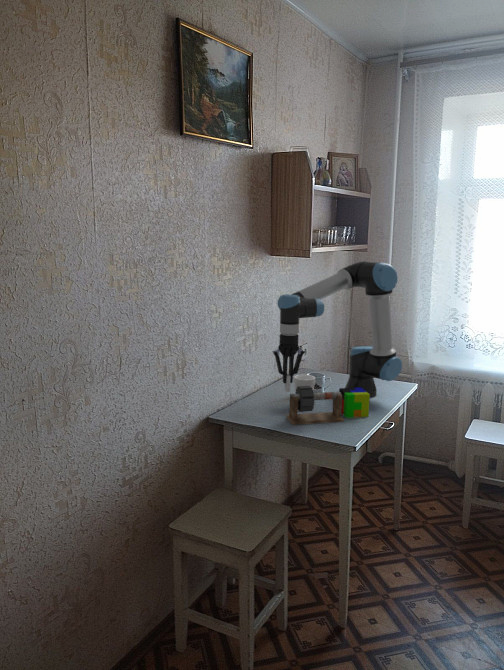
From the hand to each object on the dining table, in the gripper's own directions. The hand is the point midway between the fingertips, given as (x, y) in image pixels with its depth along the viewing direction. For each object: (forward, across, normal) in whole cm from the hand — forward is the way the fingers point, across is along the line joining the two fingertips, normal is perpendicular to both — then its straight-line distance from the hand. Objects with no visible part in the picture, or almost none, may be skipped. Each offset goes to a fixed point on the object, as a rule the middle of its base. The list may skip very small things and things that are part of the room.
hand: (287, 390), depth 222 cm
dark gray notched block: (+4, -8, 0) cm, 8 cm away
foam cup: (+13, -13, -19) cm, 27 cm away
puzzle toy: (+14, -31, -5) cm, 34 cm away
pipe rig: (+13, -12, 0) cm, 18 cm away
